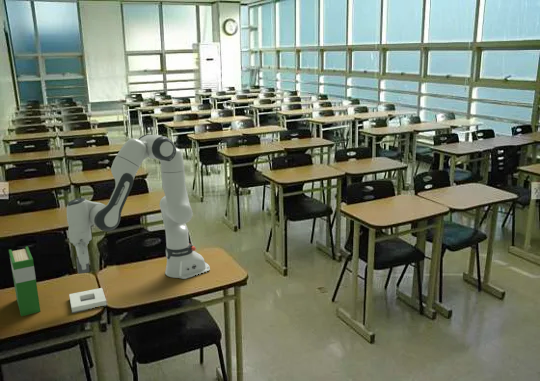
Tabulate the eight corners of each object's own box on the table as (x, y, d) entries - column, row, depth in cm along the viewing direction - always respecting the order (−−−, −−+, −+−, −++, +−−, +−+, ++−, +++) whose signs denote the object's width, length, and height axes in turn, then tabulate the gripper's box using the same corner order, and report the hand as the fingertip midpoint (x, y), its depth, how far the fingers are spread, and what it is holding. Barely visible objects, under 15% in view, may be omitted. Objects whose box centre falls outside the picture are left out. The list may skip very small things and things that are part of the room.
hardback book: (16, 299, 210) (8, 249, 204) (34, 295, 214) (27, 246, 208) (21, 316, 196) (12, 263, 190) (40, 311, 200) (32, 259, 194)
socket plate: (102, 292, 216) (102, 287, 216) (106, 305, 204) (106, 300, 203) (69, 299, 210) (69, 294, 210) (72, 313, 198) (71, 307, 197)
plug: (88, 268, 206) (87, 253, 204) (89, 272, 202) (88, 257, 200) (77, 269, 204) (76, 255, 203) (78, 273, 200) (76, 259, 199)
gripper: (90, 242, 192) (93, 274, 195) (85, 228, 209) (88, 257, 213) (74, 245, 189) (77, 276, 192) (70, 230, 207) (73, 259, 210)
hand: (83, 266), depth 203 cm, fingers closed on plug, 4 cm apart
